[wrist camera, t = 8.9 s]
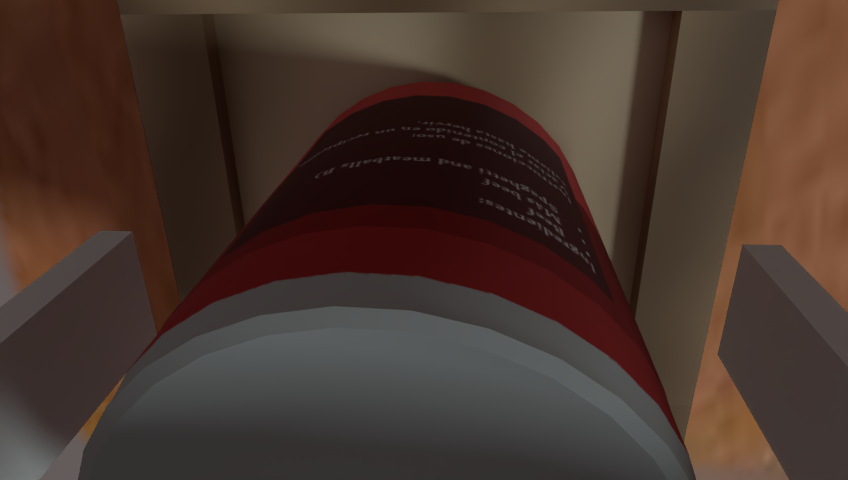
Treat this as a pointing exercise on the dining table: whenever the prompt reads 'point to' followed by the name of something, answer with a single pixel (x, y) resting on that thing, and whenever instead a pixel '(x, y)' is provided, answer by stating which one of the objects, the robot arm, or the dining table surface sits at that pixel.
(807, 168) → the dining table surface
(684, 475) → the canned food
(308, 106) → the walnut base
